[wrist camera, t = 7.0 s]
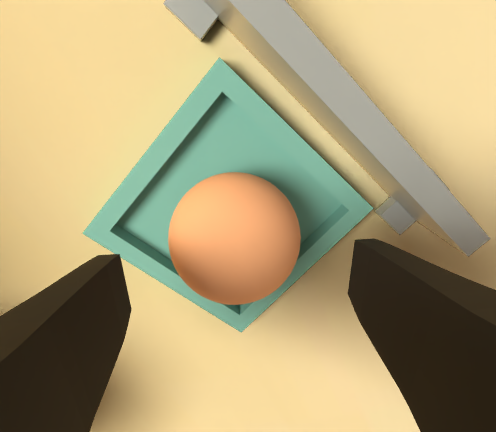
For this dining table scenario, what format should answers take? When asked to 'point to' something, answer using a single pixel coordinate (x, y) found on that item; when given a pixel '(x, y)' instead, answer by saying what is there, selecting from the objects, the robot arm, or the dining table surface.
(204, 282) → the ball
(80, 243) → the dining table surface
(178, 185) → the coaster
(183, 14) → the wall
